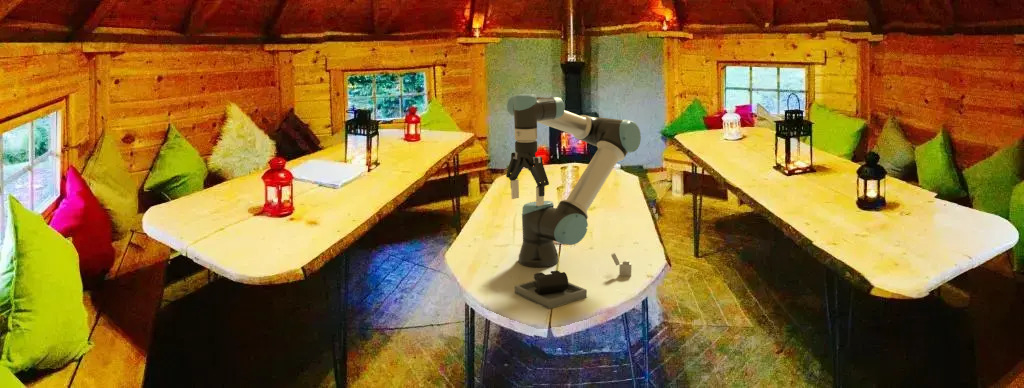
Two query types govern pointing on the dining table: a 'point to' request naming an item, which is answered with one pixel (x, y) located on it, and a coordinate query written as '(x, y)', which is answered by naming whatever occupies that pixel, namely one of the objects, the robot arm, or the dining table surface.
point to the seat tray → (550, 295)
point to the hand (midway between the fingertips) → (527, 201)
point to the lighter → (622, 266)
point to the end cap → (550, 282)
